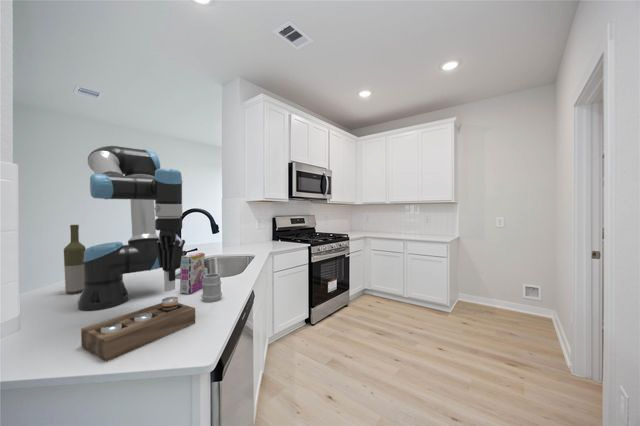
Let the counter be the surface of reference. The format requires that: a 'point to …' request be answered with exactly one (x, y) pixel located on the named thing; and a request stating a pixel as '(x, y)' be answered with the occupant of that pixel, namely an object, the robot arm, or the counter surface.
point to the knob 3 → (169, 304)
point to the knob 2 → (142, 317)
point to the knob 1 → (111, 328)
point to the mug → (211, 287)
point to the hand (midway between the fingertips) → (169, 290)
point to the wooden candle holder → (135, 330)
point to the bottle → (74, 263)
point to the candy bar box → (191, 272)
